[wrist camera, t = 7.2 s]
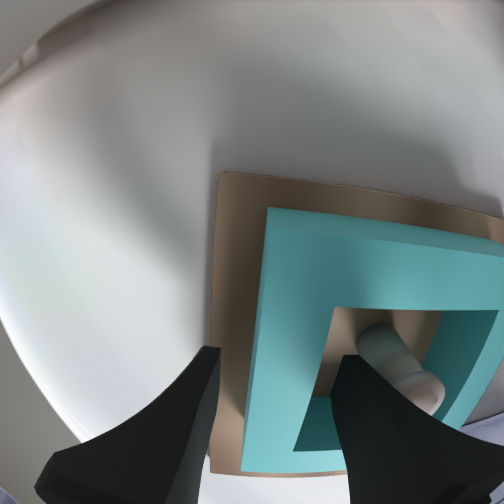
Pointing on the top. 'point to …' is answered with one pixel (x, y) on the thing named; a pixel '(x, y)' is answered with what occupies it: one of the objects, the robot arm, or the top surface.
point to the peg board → (344, 318)
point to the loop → (361, 296)
